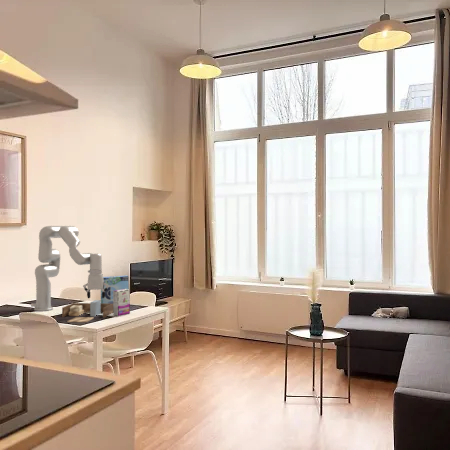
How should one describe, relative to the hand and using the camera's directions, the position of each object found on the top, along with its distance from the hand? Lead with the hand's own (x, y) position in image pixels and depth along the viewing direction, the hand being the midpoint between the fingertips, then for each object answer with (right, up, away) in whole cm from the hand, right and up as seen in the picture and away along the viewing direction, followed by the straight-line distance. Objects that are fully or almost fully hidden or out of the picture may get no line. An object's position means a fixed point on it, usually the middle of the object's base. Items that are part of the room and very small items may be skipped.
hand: (96, 297), depth 307 cm
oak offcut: (-13, -12, +1) cm, 18 cm away
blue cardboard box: (+6, -12, +26) cm, 29 cm away
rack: (-5, -11, 0) cm, 12 cm away
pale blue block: (-1, -11, 0) cm, 11 cm away
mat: (-5, -11, -18) cm, 21 cm away
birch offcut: (-14, -9, +1) cm, 16 cm away
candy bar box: (+17, -12, +1) cm, 20 cm away
